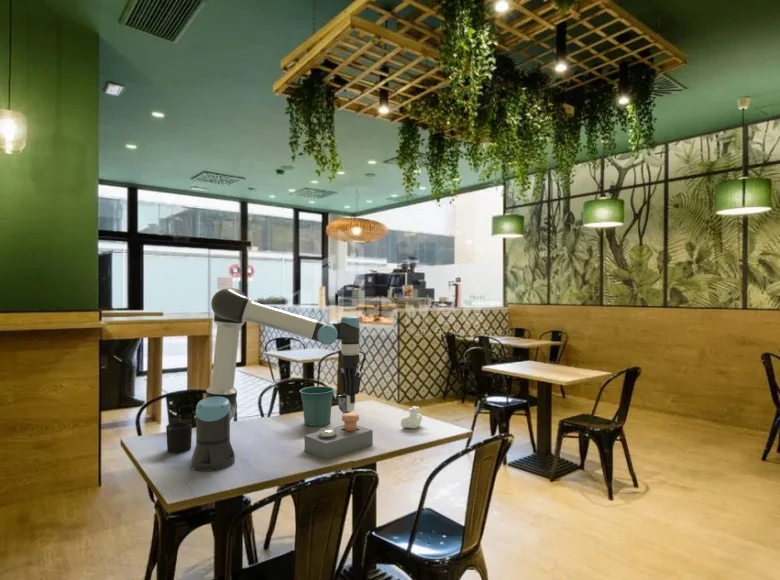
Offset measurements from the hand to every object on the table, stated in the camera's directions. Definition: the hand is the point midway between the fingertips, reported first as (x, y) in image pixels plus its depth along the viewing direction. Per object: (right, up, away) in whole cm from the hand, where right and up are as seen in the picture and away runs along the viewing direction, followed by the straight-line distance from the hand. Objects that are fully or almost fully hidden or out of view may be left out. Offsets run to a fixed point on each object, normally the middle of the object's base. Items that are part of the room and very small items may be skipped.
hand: (350, 410), depth 198 cm
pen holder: (-68, -14, -7) cm, 70 cm away
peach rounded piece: (0, -9, 0) cm, 9 cm away
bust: (+27, -14, +23) cm, 38 cm away
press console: (-4, -14, -4) cm, 15 cm away
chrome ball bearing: (-9, -13, -8) cm, 18 cm away
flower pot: (-19, -14, +30) cm, 38 cm away
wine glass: (-4, -14, +21) cm, 25 cm away
